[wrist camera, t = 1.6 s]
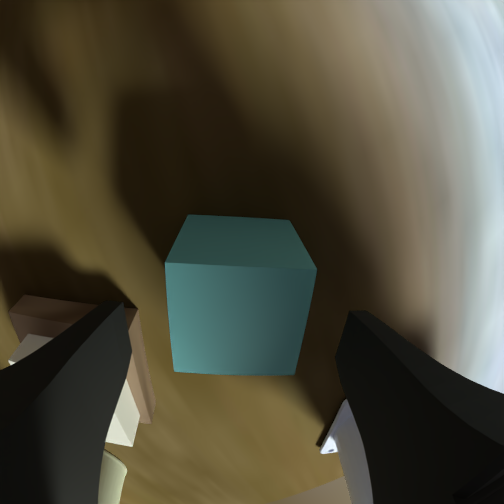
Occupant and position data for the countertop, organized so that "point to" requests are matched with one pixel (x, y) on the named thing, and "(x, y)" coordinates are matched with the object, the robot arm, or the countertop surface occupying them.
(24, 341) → the white block
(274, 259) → the teal block
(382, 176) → the countertop surface
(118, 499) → the can
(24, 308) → the walnut slab
